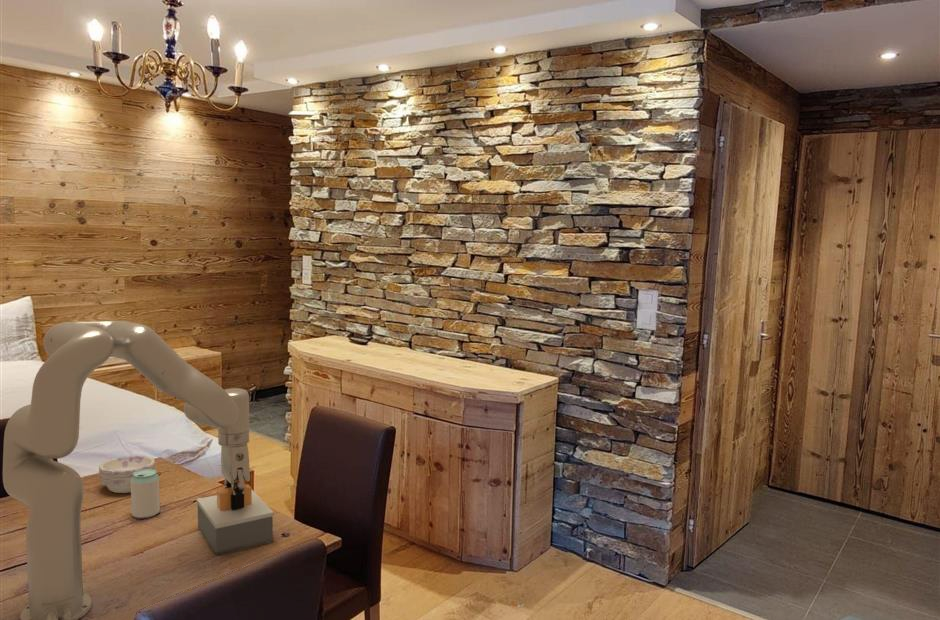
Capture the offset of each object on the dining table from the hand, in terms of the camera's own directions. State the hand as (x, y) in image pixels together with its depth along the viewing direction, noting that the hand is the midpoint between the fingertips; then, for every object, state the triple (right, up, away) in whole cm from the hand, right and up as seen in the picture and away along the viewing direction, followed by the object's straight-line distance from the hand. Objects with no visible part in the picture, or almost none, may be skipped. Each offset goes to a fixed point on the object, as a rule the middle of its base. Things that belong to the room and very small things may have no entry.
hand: (234, 504), depth 176 cm
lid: (0, -2, 0) cm, 2 cm away
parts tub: (0, -8, +1) cm, 8 cm away
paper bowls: (-43, -4, +29) cm, 52 cm away
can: (-29, -6, +11) cm, 31 cm away
